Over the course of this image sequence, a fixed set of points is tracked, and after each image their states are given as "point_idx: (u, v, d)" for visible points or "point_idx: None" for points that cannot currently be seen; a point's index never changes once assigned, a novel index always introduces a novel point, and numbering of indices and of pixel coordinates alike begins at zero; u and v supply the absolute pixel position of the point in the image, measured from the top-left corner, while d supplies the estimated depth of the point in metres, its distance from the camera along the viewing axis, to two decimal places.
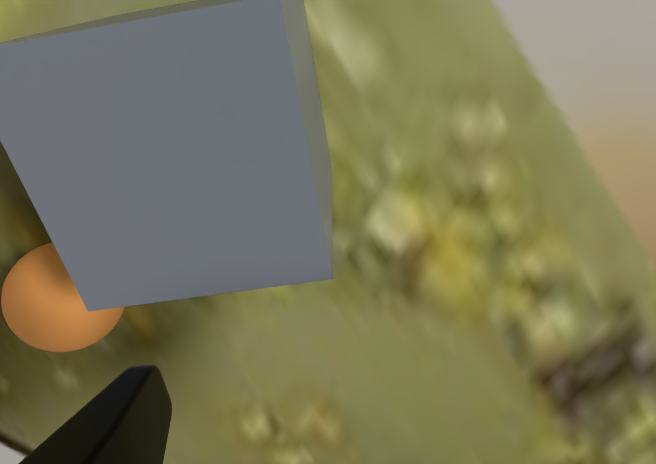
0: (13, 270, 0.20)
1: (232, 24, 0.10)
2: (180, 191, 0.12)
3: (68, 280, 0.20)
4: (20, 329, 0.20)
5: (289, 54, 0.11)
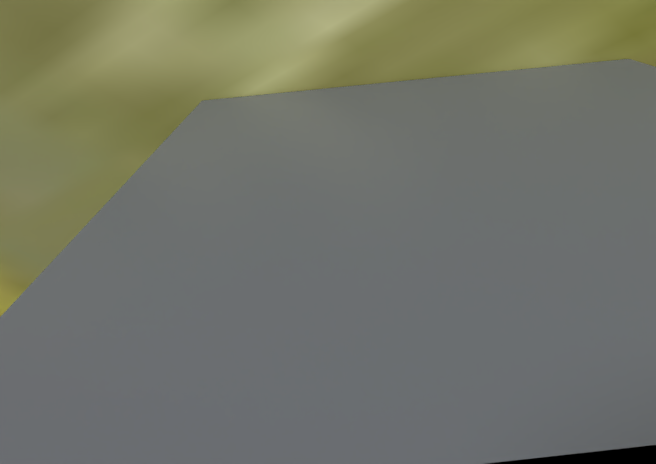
0: None
1: None
2: None
3: None
4: None
5: None
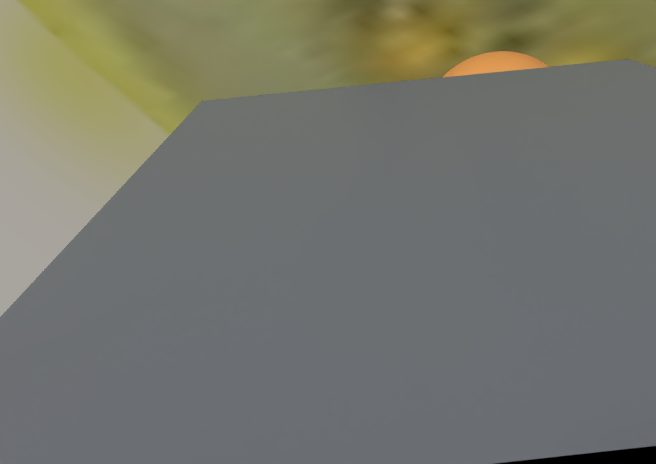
0: None
1: None
2: None
3: None
4: None
5: None
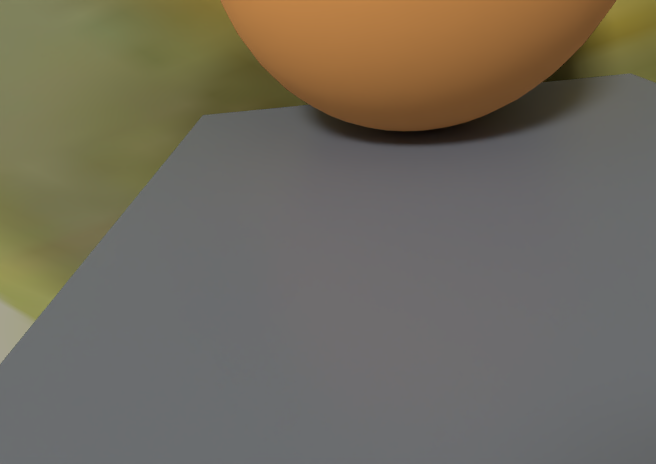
0: None
1: None
2: None
3: None
4: None
5: None
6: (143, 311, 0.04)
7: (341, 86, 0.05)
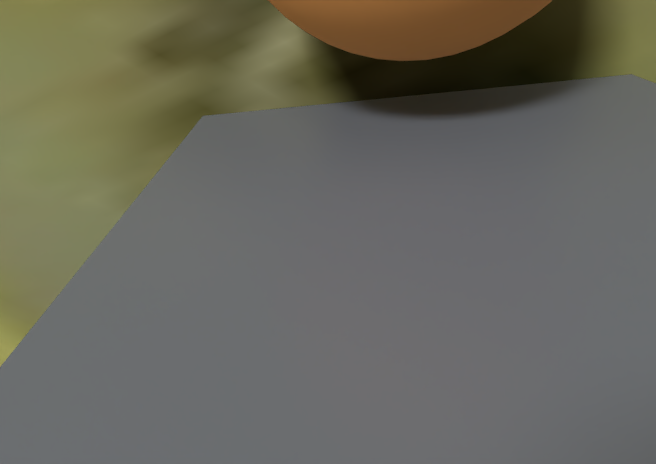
0: None
1: None
2: None
3: None
4: None
5: None
6: (143, 314, 0.04)
7: None
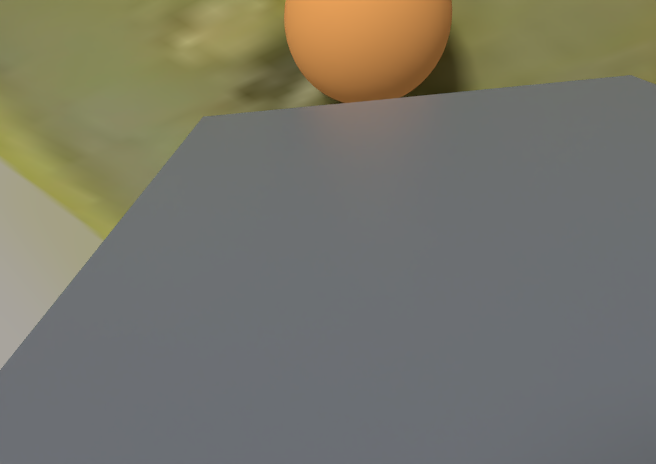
0: None
1: None
2: None
3: None
4: None
5: None
6: (143, 316, 0.04)
7: None
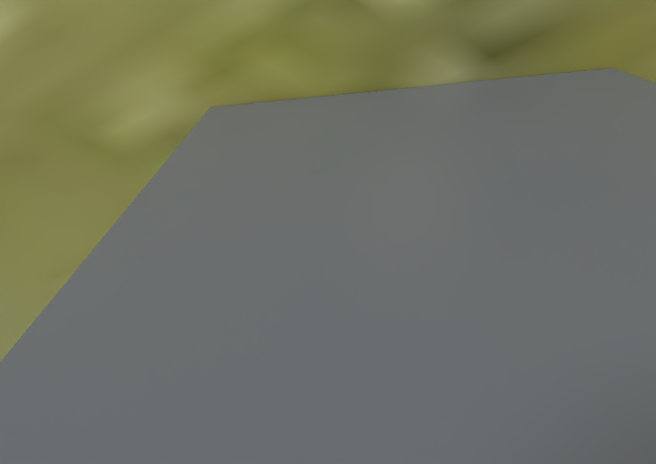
0: None
1: None
2: None
3: None
4: None
5: None
6: (167, 266, 0.04)
7: None
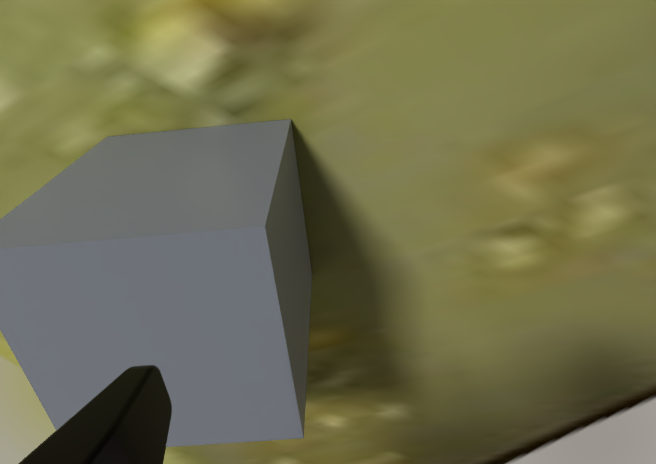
0: None
1: None
2: (163, 349, 0.13)
3: None
4: None
5: (7, 249, 0.11)
6: (58, 193, 0.14)
7: None
